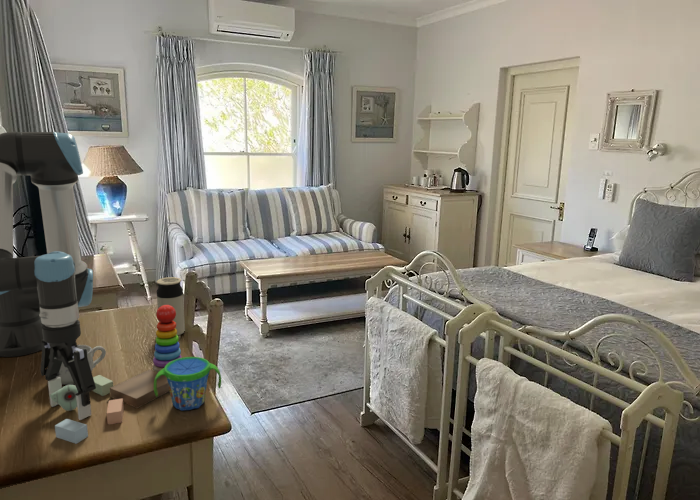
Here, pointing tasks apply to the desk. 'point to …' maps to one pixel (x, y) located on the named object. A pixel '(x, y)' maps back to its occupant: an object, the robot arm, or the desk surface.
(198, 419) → the desk surface
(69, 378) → the teacup
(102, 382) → the brick sage
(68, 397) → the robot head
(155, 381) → the snack cup
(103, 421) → the desk surface
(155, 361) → the stacking toy
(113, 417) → the brick terracotta
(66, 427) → the brick blue
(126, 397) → the plinth
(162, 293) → the travel mug
